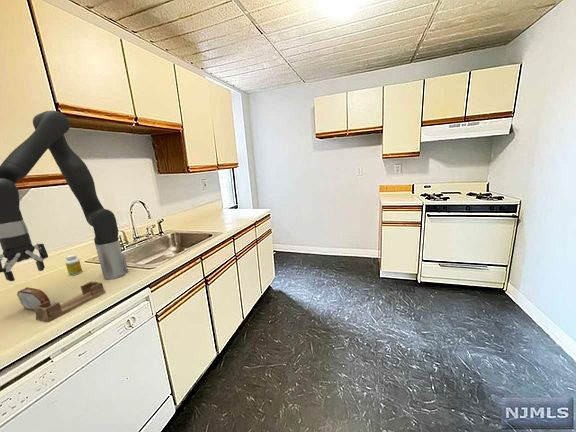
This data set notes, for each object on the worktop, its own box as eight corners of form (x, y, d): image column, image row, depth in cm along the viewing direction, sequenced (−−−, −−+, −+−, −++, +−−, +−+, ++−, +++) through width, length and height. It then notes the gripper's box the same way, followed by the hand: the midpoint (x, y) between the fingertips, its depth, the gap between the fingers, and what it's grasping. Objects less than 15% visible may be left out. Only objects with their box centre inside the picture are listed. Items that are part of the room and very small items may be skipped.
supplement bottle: (71, 276, 126) (66, 258, 124) (67, 274, 129) (62, 257, 127) (84, 272, 130) (79, 254, 128) (80, 270, 133) (75, 253, 131)
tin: (53, 309, 96) (47, 289, 94) (43, 314, 93) (36, 293, 91) (30, 304, 101) (23, 285, 99) (20, 309, 98) (13, 289, 96)
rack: (36, 319, 90) (32, 307, 89) (94, 291, 108) (91, 281, 107) (48, 322, 87) (44, 310, 86) (105, 292, 106) (102, 282, 105)
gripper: (32, 228, 99) (44, 267, 102) (-21, 240, 86) (-5, 283, 89) (43, 228, 96) (55, 268, 99) (-9, 240, 83) (7, 285, 86)
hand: (27, 275), depth 94 cm, fingers open, 8 cm apart
